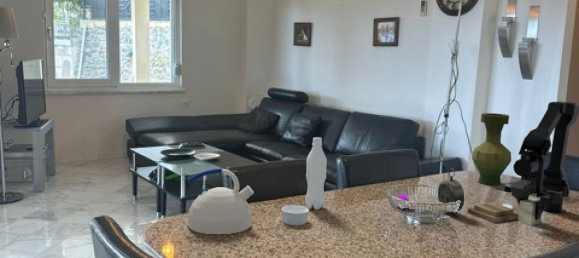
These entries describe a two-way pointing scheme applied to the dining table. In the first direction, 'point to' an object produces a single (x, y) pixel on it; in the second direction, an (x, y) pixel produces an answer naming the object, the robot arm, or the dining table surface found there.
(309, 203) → the water bottle
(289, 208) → the ramekin
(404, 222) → the dining table surface
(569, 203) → the dining table surface
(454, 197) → the alarm clock
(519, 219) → the block
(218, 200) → the kettle
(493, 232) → the dining table surface
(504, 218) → the plinth
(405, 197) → the crystal
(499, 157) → the vase
